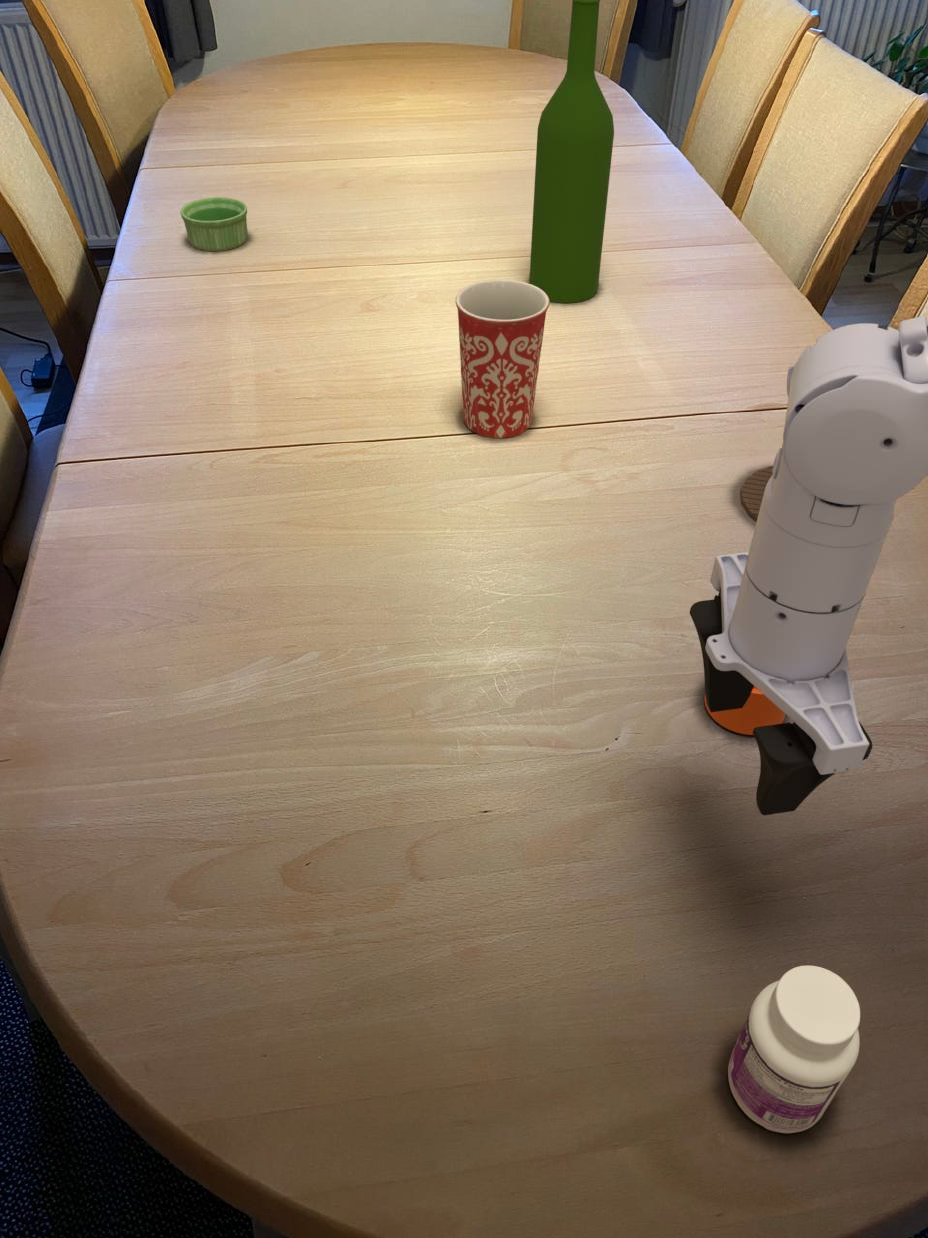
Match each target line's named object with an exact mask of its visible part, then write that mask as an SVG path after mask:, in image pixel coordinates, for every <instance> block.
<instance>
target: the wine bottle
mask: <svg viewBox="0 0 928 1238" xmlns="http://www.w3.org/2000/svg"><path fill="white" fill-rule="evenodd" d="M571 1H572V4H571V16H570V25H569V27H570V28H569V39H568V51H567V62H566V71H565V74H564V76H563V79H562V80H561V82H560V83H559V85H558V86H557V88H556V90H554V93H553V94H552V96H551V97H550V99H549V100H548V102H547V104H546V105H545V107H544V108H543V110H542V112H541V114H540V118H539V121H538V125H537V131H536V132H537V135H536V155H535V168H534V169H535V171H534V190H533V204H532V205H533V206H532V223H531V224H532V225H531V226H532V227H531V228H532V230H531V242H530V260H529V261H530V263H529V281H528V283H529V284H532V285H534V286H536V287H538V288H540V289H541V290H543V291H544V292H545V293H546V294H547V296H548V298H549V301H550V302H551V303H552V302H553V303H558V304H559V303H560V304H574V303H581V302H585V301H587V300H590V299H592V298H593V297H594V296H595V295H596V293H597V291H598V289H599V283H600V273H601V263H602V254H603V245H604V244H603V243H604V234H605V225H606V216H607V215H606V213H607V206H608V197H609V196H608V195H609V185H610V178H611V177H610V175H611V168H612V166H611V165H612V157H613V146H614V137H615V125H614V116H613V113H612V111H611V109H610V107H609V105H608V104H609V103H607V100H606V98H605V95H604V94H603V91H602V89H601V86H600V84H599V82H598V81H597V78H596V73H595V70H596V69H595V67H596V57H597V55H596V54H597V43H598V42H597V41H598V29H599V28H598V27H599V26H598V25H599V14H600V13H599V12H600V2H601V0H571Z"/></svg>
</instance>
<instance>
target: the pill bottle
mask: <svg viewBox="0 0 928 1238" xmlns="http://www.w3.org/2000/svg"><path fill="white" fill-rule="evenodd" d="M860 1022H861V1007H860V1003H859V1001H858V998H857V996H856V994H855V992H854V990H853V989H852V987H850V985H849V984H848V983H847V982H846V981H845V980H844V979H843V978H842V977H841V976H839V975H838V974H836V973H835V972H833V971H831V970H829V969H827V968H823V967H821V966H816V965H808V964H807V965H799V966H796V967H793V968H791V969H789V970H787V971H786V972H784V974H783V975H782V976H781V977H780V978H779V979H778V980H776V981H773V982H772V983H770V984H768V985H766V986H765V987H764V988H763V989H762V990H761V991H760V992H759V994H757V996H756V997H755V999H754V1000H753V1001H752V1004H751V1006H750V1008H749V1012H748V1014H747V1017H746V1018H745V1021H744V1023H743V1025H742V1028H741V1031H740V1033H739V1035H738V1038H737V1040H736V1043H735V1045H734V1047H733V1050H732V1052H731V1055H730V1058H729V1061H728V1066H727V1067H728V1068H727V1075H728V1084H729V1088H730V1091H731V1094H732V1096H733V1099H734V1100H735V1102H736V1103H737V1105H738V1107H739V1108H740V1109H741V1110H742V1111H743V1113H744V1114H745V1115H746V1116H747V1117H748V1118H749V1119H750V1120H752V1121H753V1122H754V1123H756V1124H758V1125H760V1126H761V1127H763V1128H764V1129H766V1130H768V1131H772V1132H776V1133H781V1134H794V1133H800V1132H803V1131H806V1130H808V1129H810V1128H812V1127H813V1126H814V1125H815V1124H816V1123H818V1121H820V1119H821V1118H822V1117H823V1116H824V1113H825V1112H826V1110H827V1109H828V1107H829V1105H830V1104H831V1102H832V1101H833V1099H834V1098H835V1096H836V1094H837V1092H838V1091H839V1089H840V1088H841V1086H842V1085H843V1083H844V1082H845V1080H846V1078H847V1077H848V1076H849V1074H850V1073H851V1071H852V1069H853V1068H854V1066H855V1064H856V1062H857V1059H858V1056H859V1053H860V1045H861V1043H860V1042H861V1041H860V1032H859V1026H860V1024H861V1023H860Z"/></svg>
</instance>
